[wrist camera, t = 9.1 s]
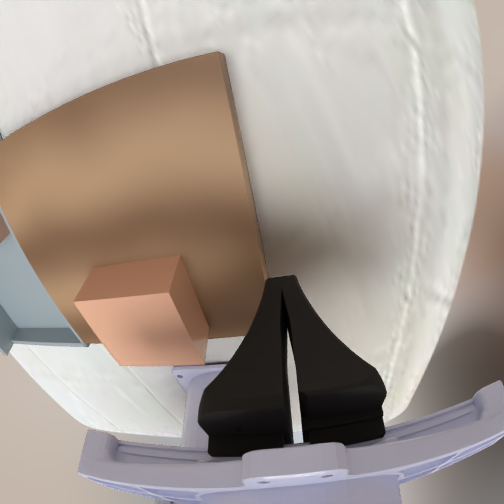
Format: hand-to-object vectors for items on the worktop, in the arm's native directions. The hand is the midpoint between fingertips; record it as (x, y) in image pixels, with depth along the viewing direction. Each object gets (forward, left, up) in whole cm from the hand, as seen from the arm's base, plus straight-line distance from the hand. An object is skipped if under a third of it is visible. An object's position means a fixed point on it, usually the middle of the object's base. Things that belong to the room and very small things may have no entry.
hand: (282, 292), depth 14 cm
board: (+4, +7, -3) cm, 9 cm away
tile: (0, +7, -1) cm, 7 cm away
